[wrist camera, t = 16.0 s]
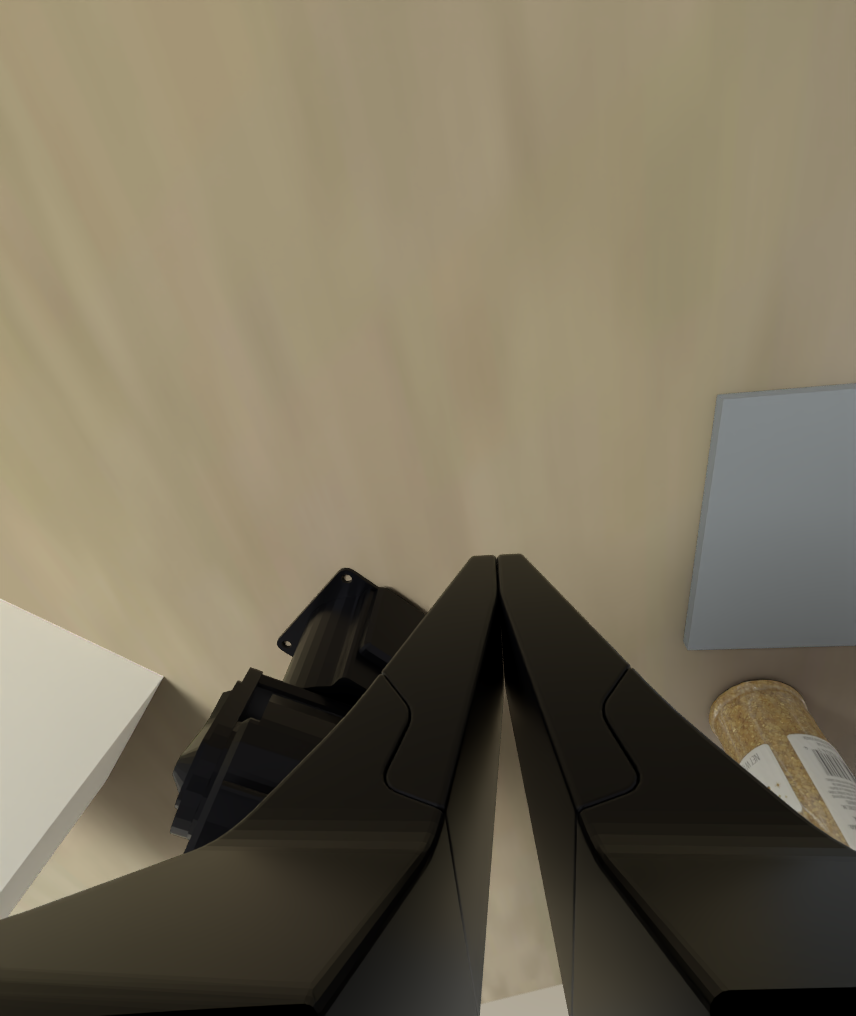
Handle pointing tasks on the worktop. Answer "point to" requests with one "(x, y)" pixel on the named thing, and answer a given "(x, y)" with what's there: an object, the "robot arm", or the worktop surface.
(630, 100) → the worktop surface
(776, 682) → the sprinkles bottle
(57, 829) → the milk
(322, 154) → the worktop surface
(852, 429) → the rest mat
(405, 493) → the worktop surface
